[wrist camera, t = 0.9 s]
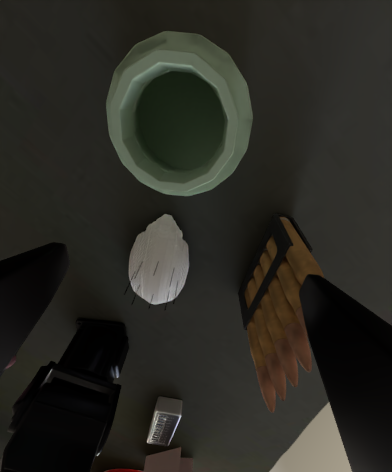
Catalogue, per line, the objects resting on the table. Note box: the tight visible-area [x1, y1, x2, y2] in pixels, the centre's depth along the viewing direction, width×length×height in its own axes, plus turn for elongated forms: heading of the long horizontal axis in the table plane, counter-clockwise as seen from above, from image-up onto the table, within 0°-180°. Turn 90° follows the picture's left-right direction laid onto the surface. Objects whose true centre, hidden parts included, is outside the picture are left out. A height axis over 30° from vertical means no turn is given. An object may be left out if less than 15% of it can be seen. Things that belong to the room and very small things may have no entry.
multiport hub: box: [147, 396, 183, 446], centre depth 42 cm, size 4×14×2 cm, turn 167°
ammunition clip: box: [238, 213, 324, 413], centre depth 19 cm, size 11×2×12 cm, turn 167°
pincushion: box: [124, 214, 189, 309], centre depth 22 cm, size 12×6×6 cm, turn 168°
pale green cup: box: [106, 31, 253, 196], centre depth 14 cm, size 8×8×8 cm
